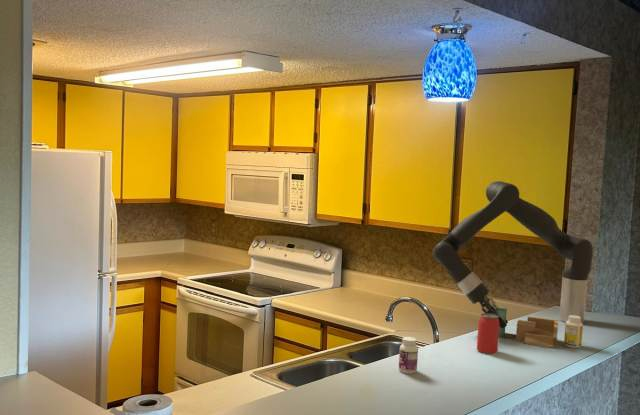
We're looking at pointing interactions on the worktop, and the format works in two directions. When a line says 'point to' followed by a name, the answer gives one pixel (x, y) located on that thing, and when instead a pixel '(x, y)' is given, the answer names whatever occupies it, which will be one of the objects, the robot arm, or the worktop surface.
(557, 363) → the worktop surface
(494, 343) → the beer can
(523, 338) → the block
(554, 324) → the brown u-shaped block
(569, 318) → the supplement bottle
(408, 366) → the pill bottle
